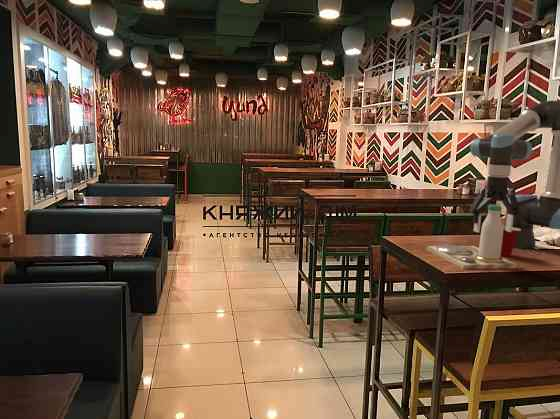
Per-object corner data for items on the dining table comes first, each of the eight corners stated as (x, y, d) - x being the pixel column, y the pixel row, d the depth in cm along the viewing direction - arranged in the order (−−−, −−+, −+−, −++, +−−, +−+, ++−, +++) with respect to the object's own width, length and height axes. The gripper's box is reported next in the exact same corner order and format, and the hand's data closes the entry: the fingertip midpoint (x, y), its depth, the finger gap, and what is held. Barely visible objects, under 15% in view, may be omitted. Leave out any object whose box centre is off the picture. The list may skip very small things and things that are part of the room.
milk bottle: (501, 260, 178) (508, 208, 174) (479, 258, 180) (485, 206, 177) (498, 255, 185) (504, 205, 182) (477, 253, 187) (482, 203, 184)
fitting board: (473, 249, 204) (473, 245, 204) (516, 268, 177) (517, 264, 177) (426, 249, 200) (426, 246, 200) (463, 268, 173) (463, 264, 173)
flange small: (470, 259, 182) (470, 257, 181) (478, 262, 177) (478, 260, 177) (458, 259, 181) (458, 257, 180) (465, 262, 176) (466, 260, 176)
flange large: (460, 246, 202) (460, 244, 202) (479, 255, 188) (479, 253, 188) (429, 246, 199) (430, 244, 199) (447, 255, 186) (447, 253, 186)
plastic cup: (522, 255, 196) (526, 227, 194) (510, 259, 190) (513, 230, 188) (496, 250, 205) (500, 223, 203) (484, 253, 198) (487, 225, 196)
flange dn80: (492, 255, 188) (492, 253, 188) (508, 262, 179) (509, 260, 178) (469, 255, 186) (469, 254, 186) (484, 263, 177) (485, 261, 177)
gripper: (521, 175, 183) (515, 229, 187) (462, 174, 178) (457, 229, 182) (535, 177, 176) (528, 233, 180) (474, 176, 171) (468, 234, 175)
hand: (492, 231), depth 181 cm, fingers open, 13 cm apart
